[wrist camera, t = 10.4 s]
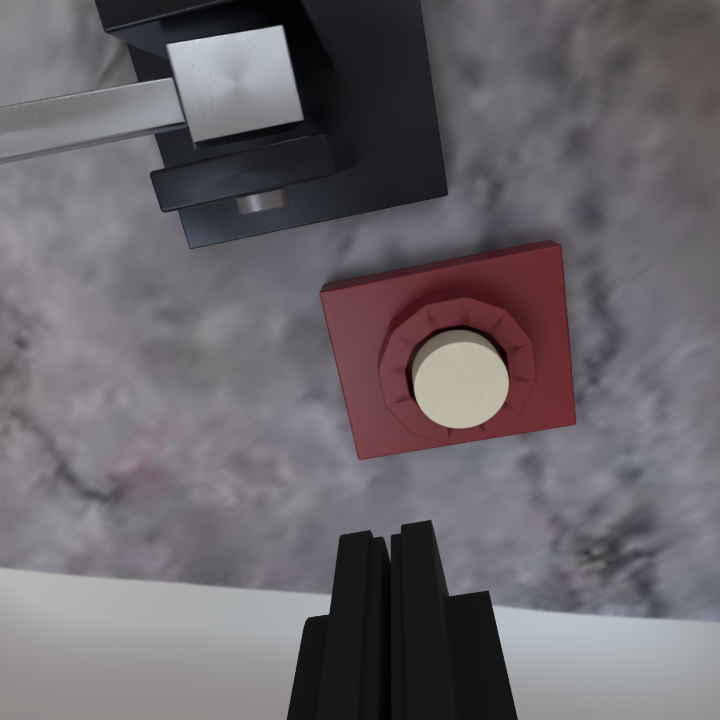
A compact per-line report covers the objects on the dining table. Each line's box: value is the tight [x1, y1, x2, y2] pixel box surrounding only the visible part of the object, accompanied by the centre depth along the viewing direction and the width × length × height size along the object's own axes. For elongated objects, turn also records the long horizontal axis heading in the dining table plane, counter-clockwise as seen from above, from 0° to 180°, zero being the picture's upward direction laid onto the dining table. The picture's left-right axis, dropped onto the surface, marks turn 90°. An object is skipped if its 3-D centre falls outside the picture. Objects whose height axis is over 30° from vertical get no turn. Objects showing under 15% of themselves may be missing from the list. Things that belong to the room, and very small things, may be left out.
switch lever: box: [0, 24, 304, 164], centre depth 14 cm, size 13×5×2 cm, turn 101°
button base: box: [320, 240, 576, 460], centre depth 27 cm, size 11×9×4 cm
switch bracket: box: [95, 0, 448, 249], centre depth 19 cm, size 12×9×13 cm
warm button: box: [412, 330, 509, 428], centre depth 25 cm, size 4×4×2 cm
